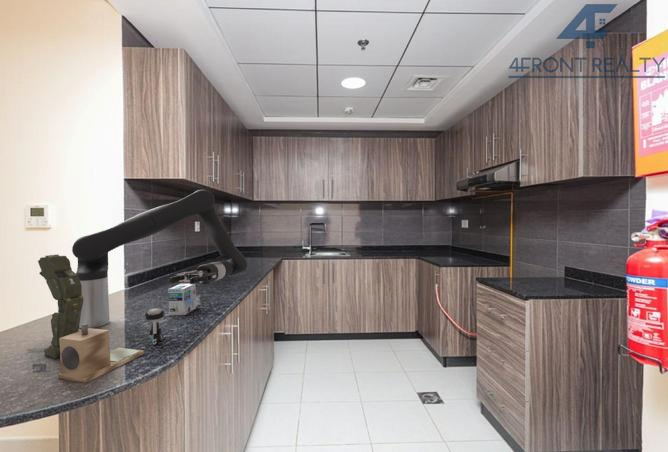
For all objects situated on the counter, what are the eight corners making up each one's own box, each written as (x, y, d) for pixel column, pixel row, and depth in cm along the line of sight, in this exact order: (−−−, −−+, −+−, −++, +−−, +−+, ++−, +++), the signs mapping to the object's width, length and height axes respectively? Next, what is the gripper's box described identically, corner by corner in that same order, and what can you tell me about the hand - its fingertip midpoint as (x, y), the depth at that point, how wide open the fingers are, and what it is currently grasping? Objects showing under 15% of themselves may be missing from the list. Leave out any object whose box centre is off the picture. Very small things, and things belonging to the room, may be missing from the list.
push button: (164, 344, 96) (162, 312, 96) (144, 347, 94) (142, 314, 94) (166, 336, 103) (165, 306, 102) (147, 339, 100) (146, 308, 100)
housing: (84, 383, 74) (82, 331, 74) (57, 378, 77) (55, 328, 76) (143, 354, 90) (141, 311, 89) (119, 351, 92) (117, 309, 92)
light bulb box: (185, 315, 125) (184, 288, 125) (168, 315, 125) (167, 288, 125) (197, 307, 136) (196, 282, 136) (181, 308, 136) (180, 283, 136)
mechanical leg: (101, 349, 92) (79, 249, 93) (74, 360, 85) (51, 252, 86) (71, 354, 96) (51, 259, 98) (42, 365, 89) (21, 262, 91)
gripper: (195, 262, 126) (163, 269, 111) (226, 263, 122) (197, 270, 106) (196, 281, 126) (164, 291, 111) (227, 282, 122) (198, 292, 107)
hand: (180, 281), depth 109 cm, fingers open, 8 cm apart
